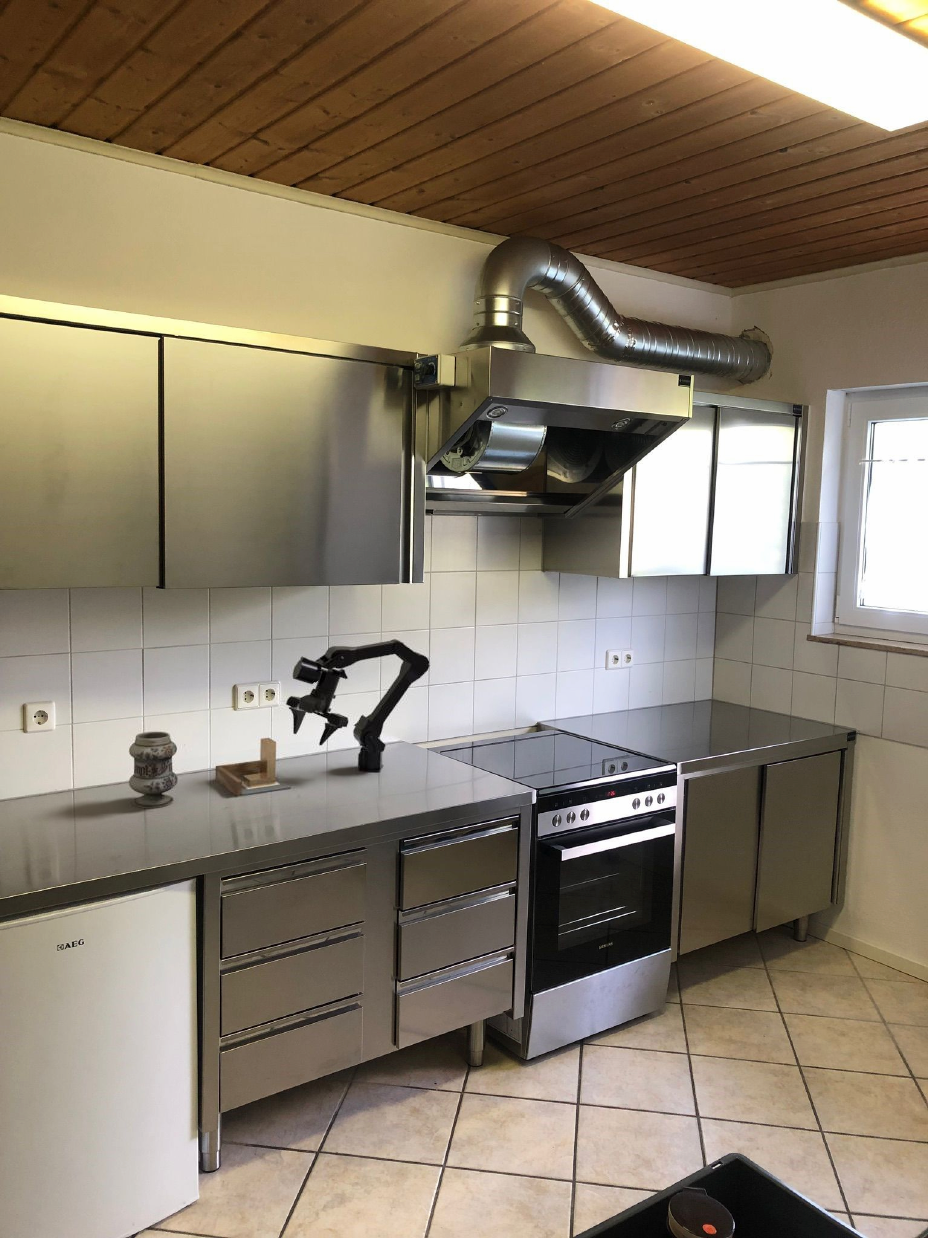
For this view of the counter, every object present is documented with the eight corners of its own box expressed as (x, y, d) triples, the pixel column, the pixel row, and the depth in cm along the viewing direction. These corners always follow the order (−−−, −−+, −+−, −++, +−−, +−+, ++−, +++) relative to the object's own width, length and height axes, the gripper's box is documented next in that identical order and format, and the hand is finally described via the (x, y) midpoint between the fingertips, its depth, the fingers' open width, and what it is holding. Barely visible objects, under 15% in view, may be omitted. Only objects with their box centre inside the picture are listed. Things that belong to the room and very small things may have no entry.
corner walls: (266, 772, 280) (267, 759, 279) (291, 788, 266) (291, 774, 265) (215, 779, 271) (215, 766, 270) (237, 796, 257) (237, 782, 257)
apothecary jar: (158, 792, 258) (158, 726, 256) (187, 801, 251) (187, 734, 249) (119, 802, 249) (118, 734, 246) (148, 813, 242) (148, 743, 239)
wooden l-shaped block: (268, 779, 272) (268, 737, 270) (275, 783, 268) (276, 742, 266) (243, 782, 268) (243, 740, 266) (249, 787, 264) (250, 745, 262)
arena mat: (268, 774, 278) (268, 772, 278) (291, 788, 266) (291, 786, 266) (222, 780, 271) (222, 778, 270) (242, 795, 258) (242, 794, 258)
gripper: (285, 675, 275) (266, 727, 274) (338, 697, 267) (319, 750, 267) (305, 679, 285) (287, 728, 285) (357, 700, 278) (338, 751, 277)
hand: (307, 739), depth 278 cm, fingers open, 9 cm apart
